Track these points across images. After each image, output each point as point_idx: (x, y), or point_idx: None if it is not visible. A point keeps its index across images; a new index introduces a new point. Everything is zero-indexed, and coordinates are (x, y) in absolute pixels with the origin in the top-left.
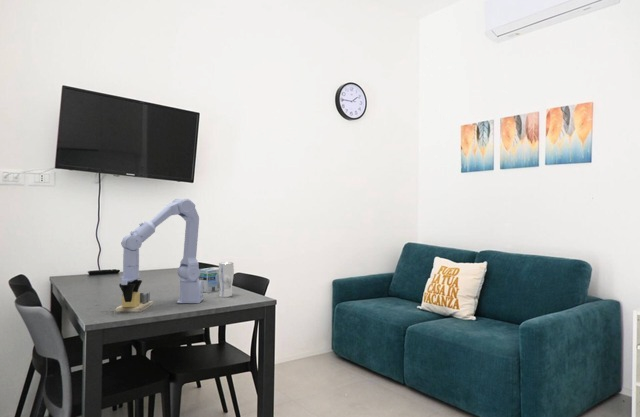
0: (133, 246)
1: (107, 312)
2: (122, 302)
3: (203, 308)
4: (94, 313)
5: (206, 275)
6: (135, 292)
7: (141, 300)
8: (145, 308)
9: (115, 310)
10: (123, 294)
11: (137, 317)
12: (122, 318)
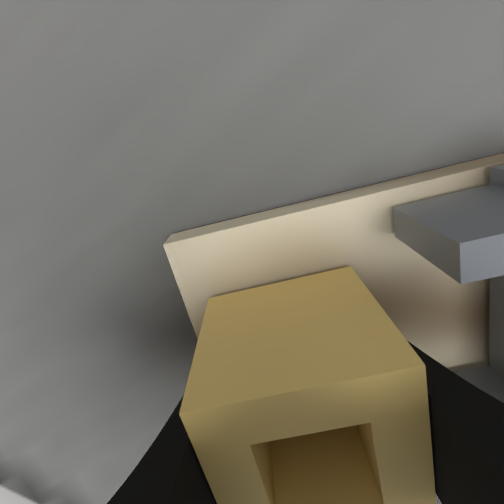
0: None
1: (115, 178)
2: (200, 332)
3: None
4: (18, 59)
5: None
6: (384, 498)
7: (499, 347)
8: None
9: (168, 240)
10: (141, 461)
11: (75, 482)
12: (4, 418)
